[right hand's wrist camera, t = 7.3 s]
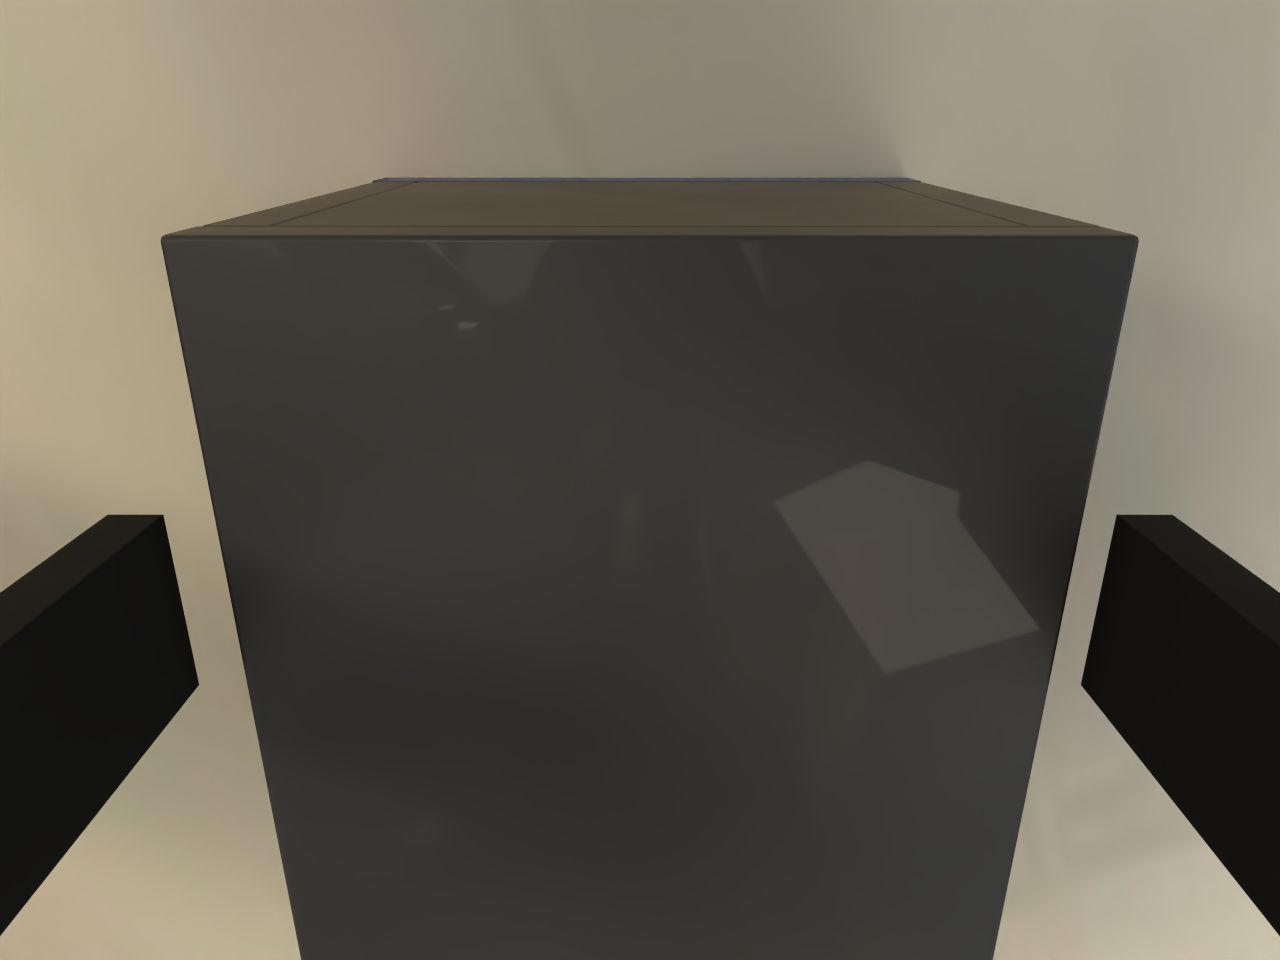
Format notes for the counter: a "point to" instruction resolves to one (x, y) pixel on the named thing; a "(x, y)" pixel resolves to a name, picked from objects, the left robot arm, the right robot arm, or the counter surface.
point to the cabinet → (648, 552)
